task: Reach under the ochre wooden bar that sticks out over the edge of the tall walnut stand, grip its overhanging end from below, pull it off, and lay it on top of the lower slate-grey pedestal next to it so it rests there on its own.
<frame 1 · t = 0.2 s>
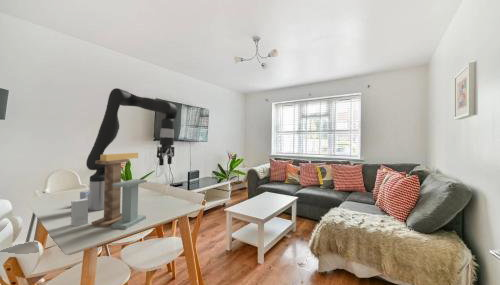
hand: (165, 164, 118), 29 cm above the table, tool pointing down, fingers open, 8 cm apart
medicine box: (88, 204, 134), on the table
skincare box: (79, 224, 102), on the table
walnut stand: (112, 220, 107), on the table
slate pedestal: (129, 222, 105), on the table
ochre bar: (120, 159, 112), point 32 cm above the table, touching walnut stand
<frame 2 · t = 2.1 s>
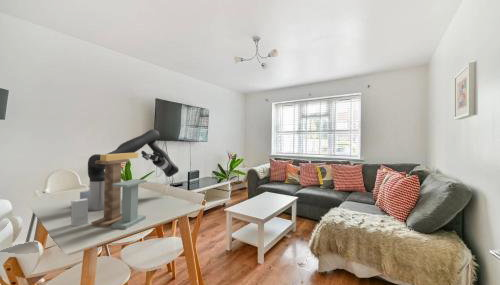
hand: (147, 152, 133), 35 cm above the table, tool pointing upward, fingers open, 8 cm apart
nothing on the table moved.
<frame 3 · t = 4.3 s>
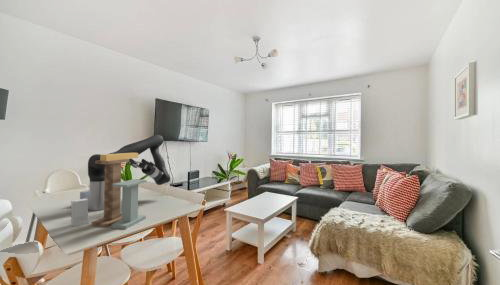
hand: (135, 159, 123), 31 cm above the table, tool pointing upward, fingers open, 8 cm apart
nothing on the table moved.
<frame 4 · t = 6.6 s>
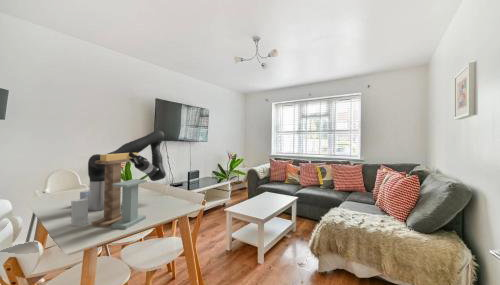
hand: (126, 153, 116), 35 cm above the table, tool pointing upward, fingers closed on ochre bar, 3 cm apart
ochre bar: (120, 159, 112), point 32 cm above the table, touching gripper, walnut stand
everything else where it was.
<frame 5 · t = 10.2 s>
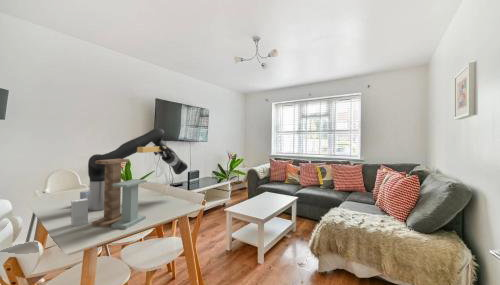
hand: (157, 146, 126), 39 cm above the table, tool pointing upward, fingers closed on ochre bar, 3 cm apart
ochre bar: (152, 151, 122), point 36 cm above the table, touching gripper
everything else where it was.
when the fingers open (25 cm above the table, at t = 14.1 s): ochre bar drops 1 cm, resting on slate pedestal.
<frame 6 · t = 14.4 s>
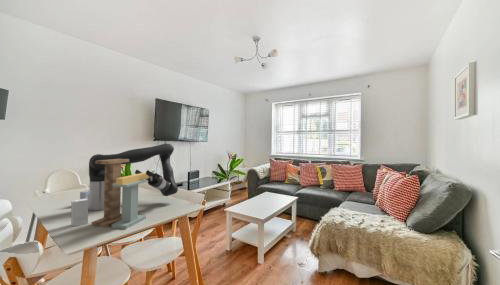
hand: (141, 171, 113), 25 cm above the table, tool pointing upward, fingers open, 6 cm apart
ochre bar: (135, 180, 108), point 21 cm above the table, touching slate pedestal
everything else where it was.
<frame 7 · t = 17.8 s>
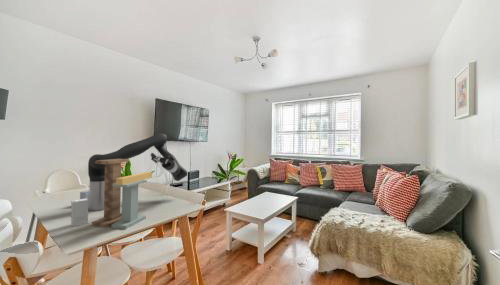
hand: (157, 154, 127), 34 cm above the table, tool pointing upward, fingers open, 8 cm apart
nothing on the table moved.
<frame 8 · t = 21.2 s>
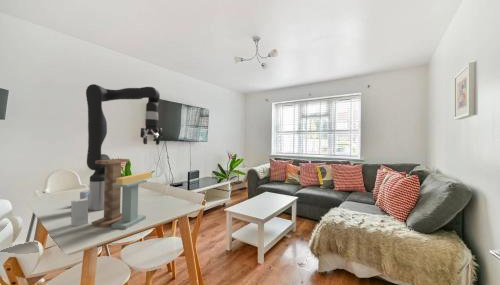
hand: (151, 144, 131), 40 cm above the table, tool pointing down, fingers open, 8 cm apart
nothing on the table moved.
at the end: ochre bar 0.1 cm from the target spot on the slate pedestal, point 21.0 cm above the slate pedestal's base; the gripper is holding nothing; ochre bar tilted 0° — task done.
